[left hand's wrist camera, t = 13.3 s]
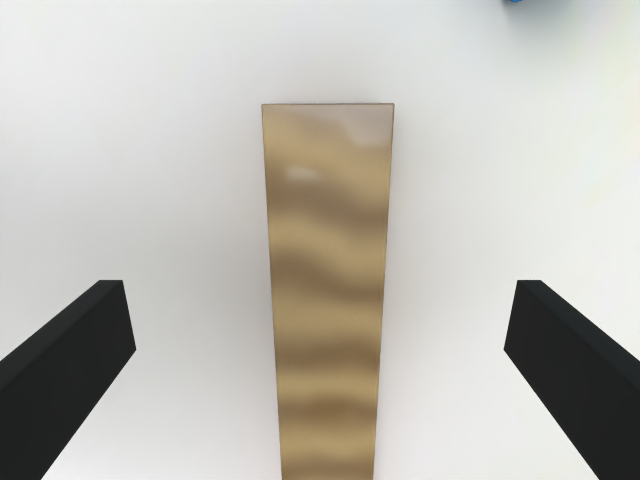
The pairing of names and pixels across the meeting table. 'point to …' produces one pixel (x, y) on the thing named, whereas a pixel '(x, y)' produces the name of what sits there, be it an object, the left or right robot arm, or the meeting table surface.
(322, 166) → the wide beam
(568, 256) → the meeting table surface
